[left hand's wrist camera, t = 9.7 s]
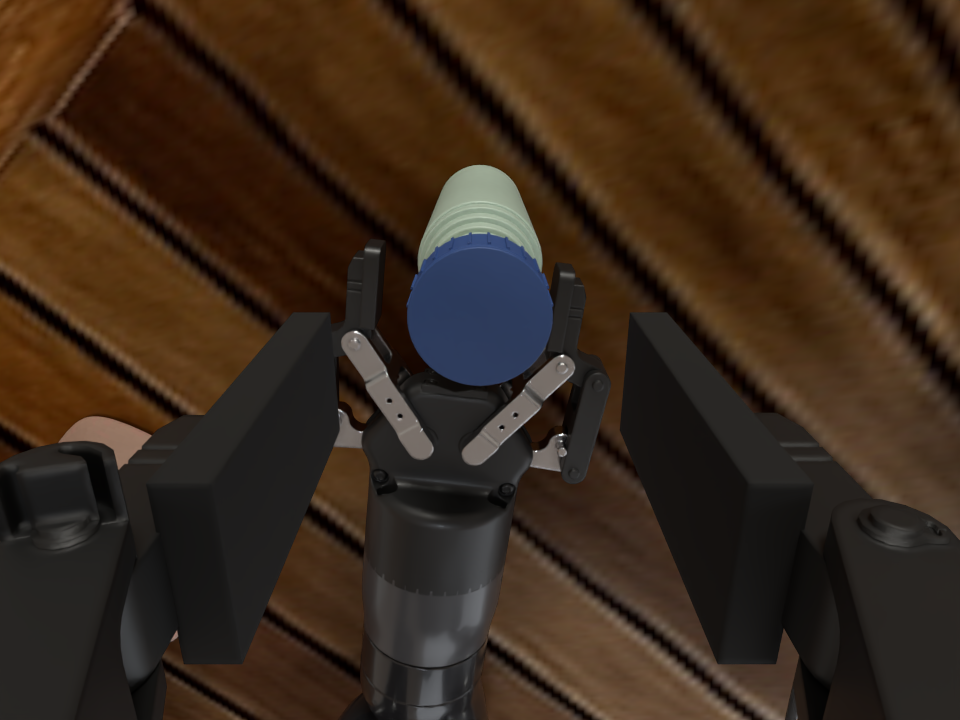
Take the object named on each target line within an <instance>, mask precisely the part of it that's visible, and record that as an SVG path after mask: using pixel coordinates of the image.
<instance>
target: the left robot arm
mask: <svg viewBox="0 0 960 720" xmlns="http://www.w3.org/2000/svg"><path fill="white" fill-rule="evenodd" d="M339 432H340V423H339V412H338V400H337V389H336V377H335V365H334V354H333V342H332V330H331V319H330V313H292V315H291V316H290V317H289V318H288V319H287V320H286V322H285V323H284V324H283V325H282V326H281V327H280V329H279V330H278V331H277V332H276V333H275V334H274V336H273V337H272V338H271V339H270V340H269V341H268V342H267V344H266V345H265V346H264V347H263V348H262V349H261V351H260V352H259V353H258V354H257V355H256V356H255V358H254V359H253V360H252V361H251V362H250V363H249V365H248V366H247V367H246V368H245V369H244V370H243V371H242V373H241V374H240V375H239V376H238V377H237V378H236V380H235V381H234V382H233V383H232V384H231V385H230V387H229V388H228V389H227V390H226V391H225V392H224V394H223V395H222V396H221V397H220V398H219V399H218V400H217V402H216V403H215V404H214V405H213V406H212V407H211V409H210V410H209V411H208V412H207V413H206V414H205V415H183V416H182V417H180V418H178V419H176V420H174V421H172V422H171V423H169V424H167V425H165V426H163V427H161V428H160V429H158V430H157V431H156V432H155V433H154V434H153V435H152V436H151V437H150V438H149V439H148V440H147V441H146V442H145V443H144V444H143V445H142V449H141V450H137V451H136V453H135V454H134V455H133V456H132V457H131V458H130V459H129V460H128V464H124V465H123V466H122V467H121V468H120V469H119V470H118V466H117V462H116V457H115V453H114V450H113V449H112V448H110V447H108V446H107V445H105V444H104V443H98V442H91V441H71V442H61V443H56V444H51V445H46V446H41V447H37V448H34V449H31V450H28V451H26V452H23V453H20V454H17V455H14V456H12V457H10V458H9V459H7V460H5V461H3V462H1V463H0V541H1V542H0V720H162V719H163V711H164V704H165V696H166V688H167V685H166V679H165V673H164V668H163V664H162V659H161V657H162V656H163V654H164V652H165V650H166V648H167V647H168V645H169V643H170V641H171V640H172V638H173V636H174V634H175V633H176V631H177V633H178V638H179V643H180V647H181V652H182V657H183V662H184V664H242V663H243V661H244V659H245V656H246V654H247V651H248V649H249V647H250V644H251V642H252V639H253V637H254V635H255V632H256V630H257V628H258V625H259V623H260V620H261V618H262V616H263V613H264V611H265V608H266V606H267V604H268V601H269V599H270V596H271V594H272V592H273V589H274V587H275V585H276V582H277V580H278V577H279V575H280V573H281V570H282V568H283V565H284V563H285V561H286V558H287V556H288V553H289V551H290V549H291V546H292V544H293V542H294V539H295V537H296V534H297V532H298V530H299V527H300V525H301V522H302V520H303V518H304V515H305V513H306V510H307V508H308V506H309V503H310V501H311V499H312V496H313V494H314V491H315V489H316V487H317V484H318V482H319V479H320V477H321V475H322V472H323V470H324V467H325V465H326V463H327V460H328V458H329V456H330V453H331V451H332V448H333V446H334V444H335V441H336V439H337V436H338V434H339ZM620 432H621V434H622V436H623V439H624V441H625V444H626V446H627V448H628V451H629V453H630V456H631V458H632V460H633V463H634V465H635V467H636V470H637V472H638V475H639V477H640V479H641V482H642V484H643V487H644V489H645V491H646V494H647V496H648V499H649V501H650V503H651V506H652V508H653V510H654V513H655V515H656V518H657V520H658V522H659V525H660V527H661V530H662V532H663V534H664V537H665V539H666V542H667V544H668V546H669V549H670V551H671V553H672V556H673V558H674V561H675V563H676V565H677V568H678V570H679V573H680V575H681V577H682V580H683V582H684V585H685V587H686V589H687V592H688V594H689V596H690V599H691V601H692V604H693V606H694V608H695V611H696V613H697V616H698V618H699V620H700V623H701V625H702V628H703V630H704V632H705V635H706V637H707V639H708V642H709V644H710V647H711V649H712V651H713V654H714V656H715V659H716V661H717V663H718V664H776V662H777V657H778V652H779V647H780V643H781V638H782V633H783V629H785V631H786V633H787V634H788V636H789V638H790V640H791V641H792V643H793V645H794V647H795V648H796V650H797V652H798V654H799V659H798V664H797V668H796V673H795V677H794V681H793V686H792V690H791V695H790V699H789V703H788V708H787V712H786V717H785V720H796V719H797V718H798V720H960V540H959V539H958V538H957V537H956V536H955V535H954V534H953V533H952V531H951V530H950V529H949V528H948V527H947V526H945V525H944V524H942V523H941V522H939V521H937V520H936V519H934V518H933V517H931V516H930V515H928V514H925V513H923V512H920V511H918V510H916V509H913V508H911V507H908V506H906V505H902V504H898V503H894V502H890V501H885V500H881V499H872V498H871V497H870V496H869V495H868V494H867V493H866V492H865V491H864V490H863V489H862V488H861V486H860V485H859V484H858V483H857V482H856V481H855V480H854V479H853V478H852V477H851V476H850V475H849V474H848V473H847V472H846V471H845V470H844V469H843V468H842V467H841V466H840V465H839V464H838V463H837V462H836V461H833V460H832V457H831V456H830V455H829V454H828V453H827V452H826V451H825V450H824V449H823V447H819V443H818V442H817V441H816V440H815V439H814V438H813V437H812V436H811V435H810V434H809V433H808V432H807V431H806V430H805V429H804V428H803V427H801V426H800V425H798V424H796V423H794V422H792V421H790V420H789V419H787V418H785V417H783V416H781V415H779V414H777V413H753V412H752V411H751V410H750V409H749V407H748V406H747V405H746V404H745V403H744V402H743V400H742V399H741V398H740V397H739V396H738V395H737V394H736V392H735V391H734V390H733V389H732V388H731V387H730V385H729V384H728V383H727V382H726V381H725V380H724V378H723V377H722V376H721V375H720V374H719V373H718V371H717V370H716V369H715V368H714V367H713V366H712V365H711V363H710V362H709V361H708V360H707V359H706V358H705V356H704V355H703V354H702V353H701V352H700V351H699V349H698V348H697V347H696V346H695V345H694V344H693V342H692V341H691V340H690V339H689V338H688V337H687V336H686V334H685V333H684V332H683V331H682V330H681V329H680V327H679V326H678V325H677V324H676V323H675V322H674V320H673V319H672V318H671V317H670V316H669V315H668V313H630V319H629V330H628V342H627V354H626V365H625V377H624V389H623V400H622V412H621V423H620Z"/></svg>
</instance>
